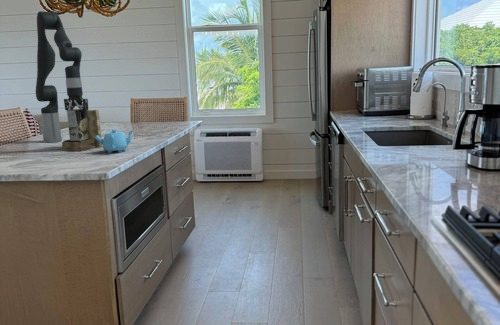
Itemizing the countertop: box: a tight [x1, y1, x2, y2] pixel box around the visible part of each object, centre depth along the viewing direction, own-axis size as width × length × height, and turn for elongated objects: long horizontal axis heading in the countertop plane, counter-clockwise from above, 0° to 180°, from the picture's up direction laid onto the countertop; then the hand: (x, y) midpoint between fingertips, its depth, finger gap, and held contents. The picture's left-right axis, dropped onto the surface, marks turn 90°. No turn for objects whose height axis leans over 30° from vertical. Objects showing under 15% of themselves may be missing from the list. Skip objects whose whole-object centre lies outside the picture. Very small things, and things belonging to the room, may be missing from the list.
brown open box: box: [61, 138, 98, 152], centre depth 233 cm, size 12×12×5 cm
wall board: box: [81, 109, 103, 148], centre depth 237 cm, size 16×2×20 cm, turn 69°
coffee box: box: [66, 108, 89, 141], centre depth 231 cm, size 9×6×16 cm
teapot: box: [95, 129, 135, 154], centre depth 221 cm, size 15×14×11 cm
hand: (77, 118), depth 230 cm, fingers closed on coffee box, 7 cm apart
